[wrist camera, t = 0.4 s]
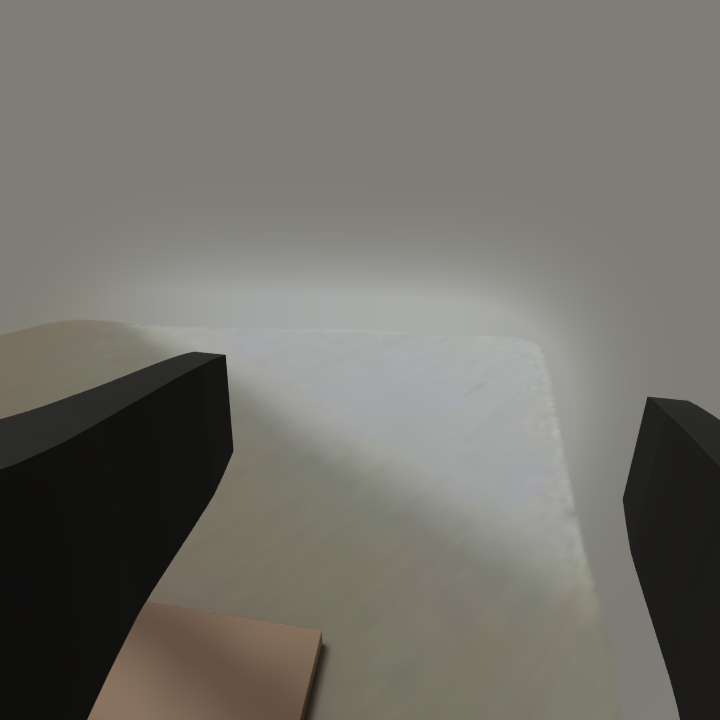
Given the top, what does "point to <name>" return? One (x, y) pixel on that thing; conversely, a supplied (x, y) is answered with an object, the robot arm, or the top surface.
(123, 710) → the board
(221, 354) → the robot arm
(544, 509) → the top surface
